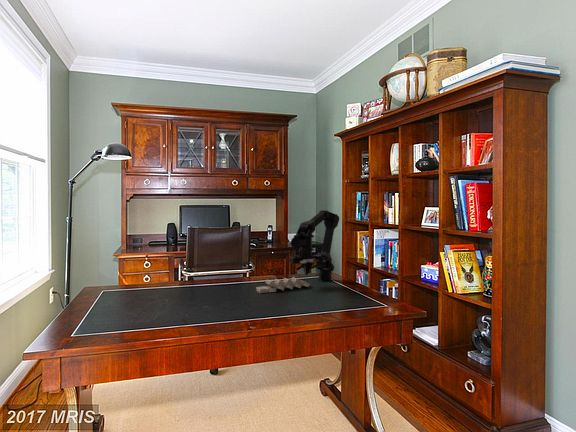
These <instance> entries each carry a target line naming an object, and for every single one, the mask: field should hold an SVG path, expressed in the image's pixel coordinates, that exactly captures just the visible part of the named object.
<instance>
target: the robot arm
mask: <svg viewBox="0 0 576 432" xmlns="http://www.w3.org/2000/svg"><path fill="white" fill-rule="evenodd" d="M322 222H323V225H324V227H325V230H324V237H323V242H322V247H321V252H320V253H318V254H313V251H314V248H313V247H312V246H313V242H312V241H313V239H312V238H314V237H315V236H314V235H313V233H314V232H315V231H316V227H318V226H319V224H321V223H322ZM339 222H340V217H339V215H338V213H337V214H336V213H334V212H330V211H329V210H324V209H323V210H320V211H319V212H318V213H317V214H316V215H314V216H312V218H310V219H309V220H306V221H303V222H301V223H300V224H299V227H298V229H297V231H296V233H295V234H294V235H293V237H292V238H291V241H290V245H291V247H292V248H294V250H293V251H292V254H293V256H290V257H289V259H288V263H290V264H293V265H294V264H300V265H301V266H302V269H303V273H304V275H306V276H308V275H309V272H310V271H311V268H312V266H313V265H314V264H316V269H317V270H319V272H318V278H317V279H318V281H319V282H323V283H327V282H333V281H334V280H333V279H332V274H333V271H335V265H334V264H333V262H332V256H331V250H332V249H331V248H332V243H333V239H334V238H333V237H334V232H335V229H336V228H337V227H338V225H339ZM298 248H299V250H298Z"/></svg>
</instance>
